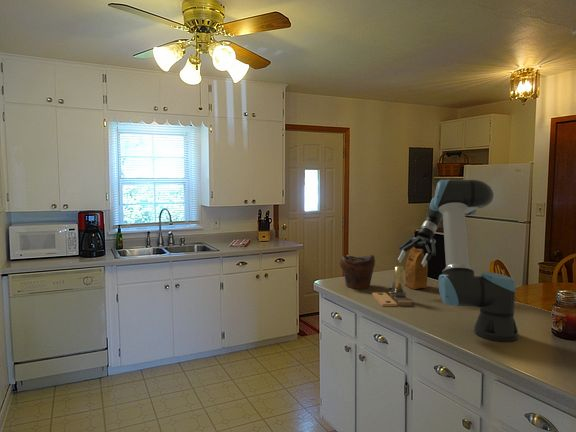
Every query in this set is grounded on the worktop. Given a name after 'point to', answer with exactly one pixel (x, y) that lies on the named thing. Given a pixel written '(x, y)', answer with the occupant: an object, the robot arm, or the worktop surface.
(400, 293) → the brass leg
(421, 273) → the coffee package
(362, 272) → the brown basket
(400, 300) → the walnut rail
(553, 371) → the worktop surface
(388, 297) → the orange bolt plate
